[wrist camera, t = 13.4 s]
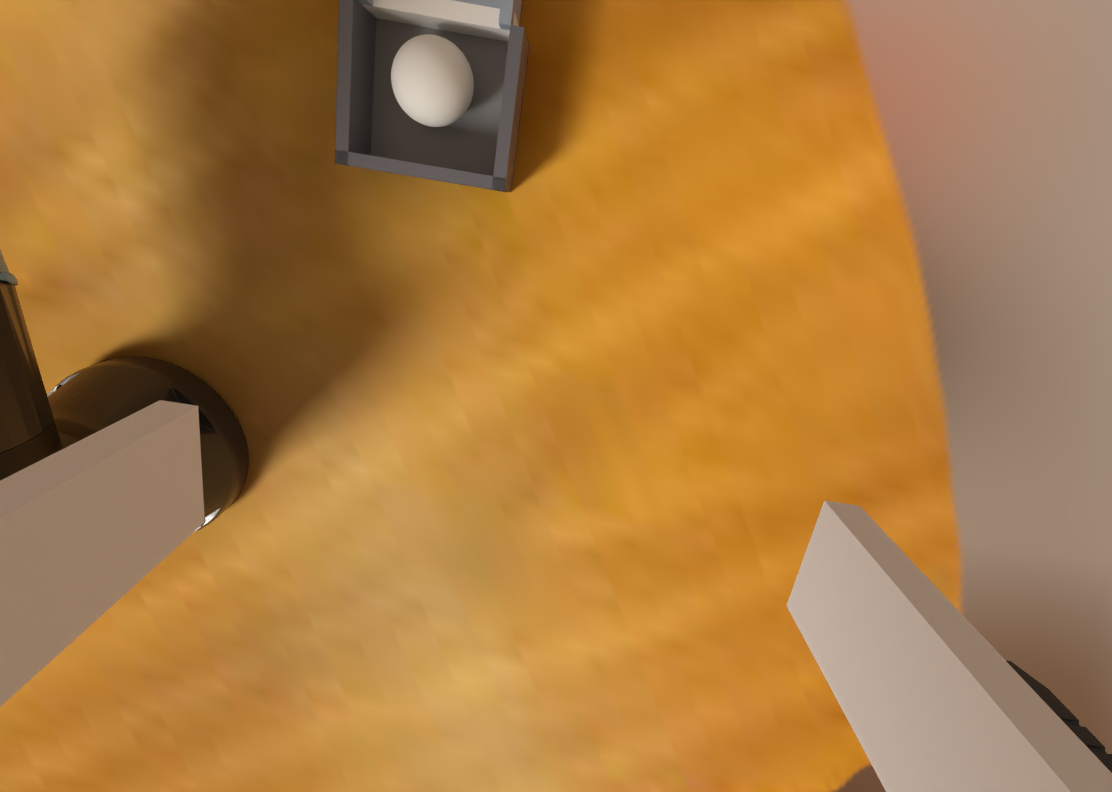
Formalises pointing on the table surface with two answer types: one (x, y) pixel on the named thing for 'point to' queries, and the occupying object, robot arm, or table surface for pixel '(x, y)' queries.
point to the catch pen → (406, 145)
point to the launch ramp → (452, 15)
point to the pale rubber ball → (432, 80)
